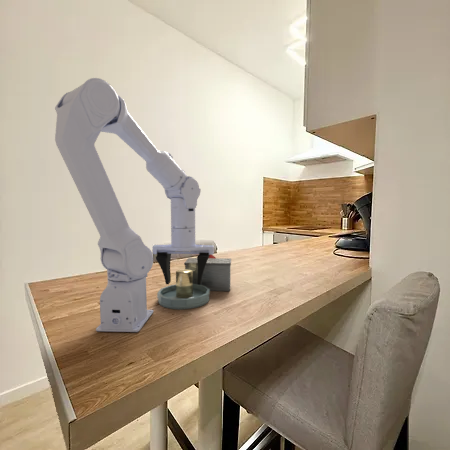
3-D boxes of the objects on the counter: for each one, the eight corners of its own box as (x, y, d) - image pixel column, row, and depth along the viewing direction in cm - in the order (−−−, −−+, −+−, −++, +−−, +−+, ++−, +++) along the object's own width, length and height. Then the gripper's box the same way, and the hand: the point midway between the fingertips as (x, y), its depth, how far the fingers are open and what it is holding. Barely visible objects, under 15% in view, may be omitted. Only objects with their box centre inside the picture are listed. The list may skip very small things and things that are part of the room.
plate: (206, 309, 61) (206, 300, 60) (151, 309, 61) (151, 299, 61) (211, 292, 73) (211, 283, 73) (165, 291, 73) (165, 283, 73)
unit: (230, 291, 73) (230, 263, 73) (184, 290, 74) (184, 262, 73) (231, 284, 80) (231, 258, 79) (188, 283, 80) (188, 258, 80)
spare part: (194, 293, 69) (194, 269, 68) (190, 298, 65) (190, 273, 64) (178, 292, 69) (178, 269, 69) (174, 297, 65) (173, 273, 65)
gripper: (214, 226, 69) (215, 279, 70) (157, 226, 70) (158, 278, 71) (212, 228, 62) (212, 287, 63) (149, 228, 63) (150, 286, 64)
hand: (183, 283), depth 67 cm, fingers open, 7 cm apart
